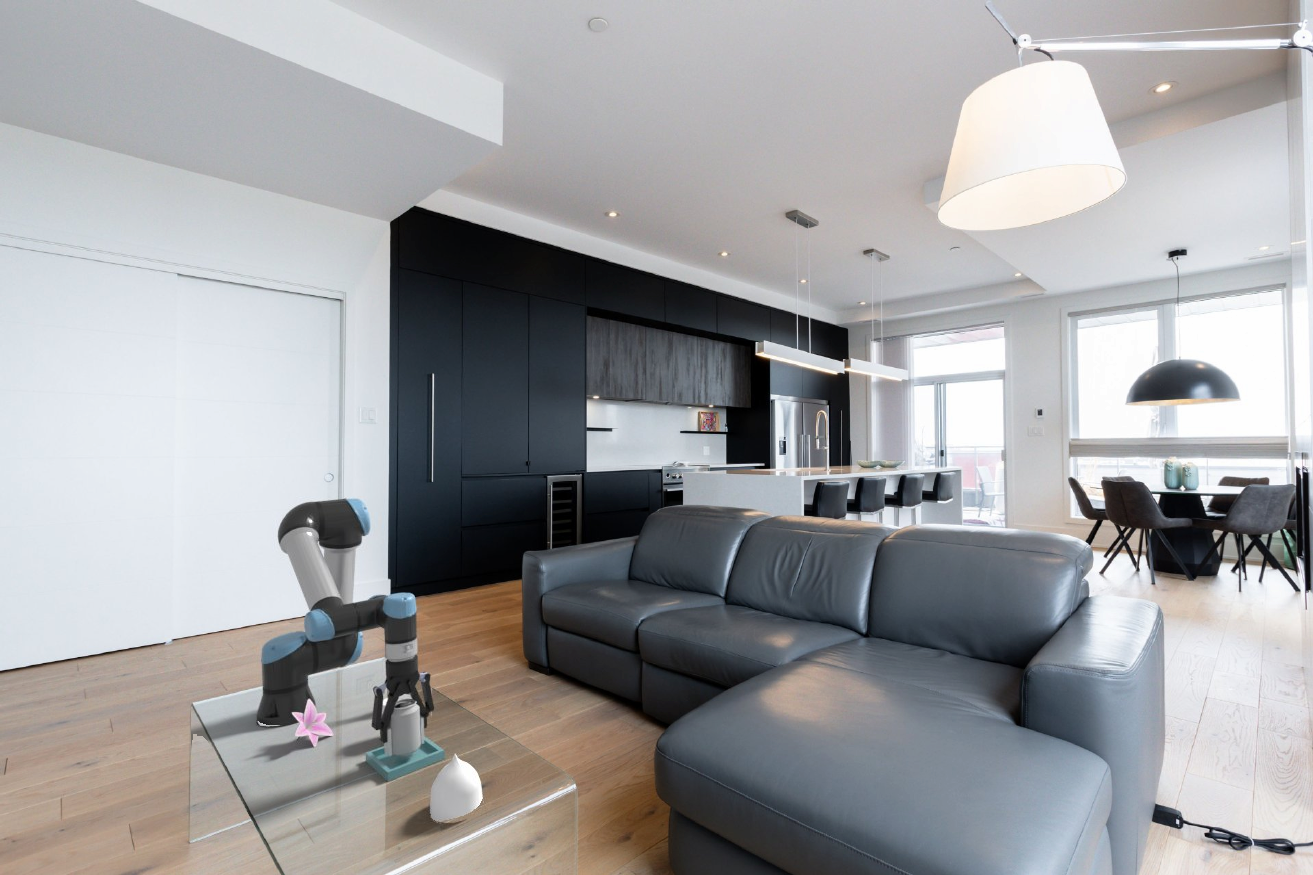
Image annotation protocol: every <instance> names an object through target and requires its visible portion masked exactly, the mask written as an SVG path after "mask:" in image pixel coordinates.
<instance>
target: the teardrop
mask: <svg viewBox="0 0 1313 875" xmlns="http://www.w3.org/2000/svg"><path fill="white" fill-rule="evenodd" d="M483 798H484V797H483V789H482V782H481V779H480V777H479V774H478V771H477V770H476V768H474V767H473V766H472V765H471V764H470V763H468V762H467V761H464V760H461V759H460V758H458V756H457V754H456V753H454V754H453V757H452V760H450V761H449V763H447V764H446V765H445V766H444V767H443V768H442V769H441V770H440V771H439V773H438V774H437V775H436V778H435V779H434V781H433V783H432V785H431V789H430V800H429V801H430V802H429V805H430V806H429V814H431V815H430V819H431V818H432V819H433V820H432V819H431V820H432V821H434V820H435V821H439V822H442V821H444V820H449V819H453V818H458V817H460V816H464V815H466V814H468V813H470V812H472V811H473V810H474V809H476V808H477V807H478V806H479V805H480V803H481V801H482V799H483ZM483 800H484V799H483ZM435 821H434V822H435Z"/></svg>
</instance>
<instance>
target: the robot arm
mask: <svg viewBox="0 0 1313 875" xmlns="http://www.w3.org/2000/svg"><path fill="white" fill-rule="evenodd" d="M370 518H371V517H370V515H369V510H368V508H367V506H366V504H365V503H364V502H363V501H362V500H361V499H360V498H346V497H344V498H339V499H328V500H318V501H307V502H303V503H300V504H298V505H296V506H295V507H293V508H292V509H290V510H289V511H288V512H287V513H286V514H285V515H284V517H283V518H282V520H281V522H280V525H279V526H278V530H277V541H278V542H277V543H278V545H279V547H280V549H281V551H282V552H283V553H284V554H286V555H288V556H287V557H288V559H289V561H290V564H291V566H292V568H293V571H294V574H295V576H296V578H297V582H298V585H299V586H300V590H301V592H302V594H303V597H304V599H305V602H306V605H307V607H308V610H309V611H308V612H306V613H305V615H304V620H303V623H304V624H303V626H304V627H303V628H304V630H305V631H303V630H300V631H299V630H297V631H294V632H293V631H291V632H286V633H284V634H280V635H277V636H275V637H273V638H271V639H269V640H268V641H267V642H265V643H264V644H263V646H262V648H261V657H260V663H261V678H262V695H261V699H260V702H259V706H258V707H257V708H258V709H257V711H256V714H255V715H256V717H255V718H256V719H257V720H256V722H257V721H259V722H260V723H263V724H266V725H284V726H288V725H287V724H289V725H292V724H296V723H298V722H299V721H298V720H297V719H296V718H295V717H294V716H293V714H292V712H299V713H303V714H304V713H305V709H306V705H307V701H308V699H310V700H311V701H312V702H313V704H314V706H315V708H316V706H317V705H316V699H315V697H314V695H313V693H312V691H311V688H310V686H309V676H311V675H315V674H319V673H322V672H326V671H330V670H334V669H337V668H344V667H346V666H348V665H351V664H354V663H356V662H357V661H358V660H359V659H360V657H361V655H362V652H363V648H364V638H363V637H364V634H363V632H366V631H370V630H375V629H379V628H381V629H383V631H384V657H385V659H386V660H385V680H384V682H383V684H381V685H379V686H377V685H374V687H373V688H372V690H373V695H374V698H373V708H372V717H371V727H372V728H373V729H374V730H375V731H379V740H380V742H381V743H382V744H383V746H384V751H385V754H386V755H388V756H392V740H391V728H389V727H388V726H389V723H390V720H391V715H392V713H393V710H394V707H395V704H396V702H397V701H398V698H399V696H402V695H404V694H410V696H411V698H412V699H413V700H415V701H417V703H416V704H417V705H418V706H419V707H420V734H421V744H424V736H425V729H427V727H428V717H429V715H430V714H429V713H431V712H434V710H435V706H434V700H433V694H432V689H431V684H430V683H431V682H430V681H431V676H432V675H431V674H430V673H428V672H427V671H423V672H422V673H420V672H419V659H418V658H419V656H418V631H417V629H418V628H417V625H418V624H417V622H418V620H417V609H418V607H417V603H416V597H415V595H414V594H413V593H411V592H397V593H392V594H388V595H387V594H381V593H380V594H374V595H372V596H371V597H369V598H368V599H366V600H361V601H357V602H354V601H353V600H354V587H355V570H356V569H355V567H356V552H357V548H358V547H360V546H361V544H362V542H363V541H362V540H363V537H366V536H368V535H369V534H370V531H371V519H370ZM321 548H322V549H323V552H322V550H321ZM419 681H420V684H421V690H422V696H423V699H422V697H421V696H420V695H419V691H418V689H417V687H416V685H417V684H418V682H419ZM386 690H388V694H387V697H388V700H387V703H386V706H385V709H384V712H383V715H382V707H383V700H384V695H385V693H386ZM420 697H421V698H420ZM421 699H422V700H423V701H424V703H425V707H424V705H423V702H422V700H421ZM316 709H317V708H316ZM291 723H292V724H291ZM299 723H300V722H299Z"/></svg>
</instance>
